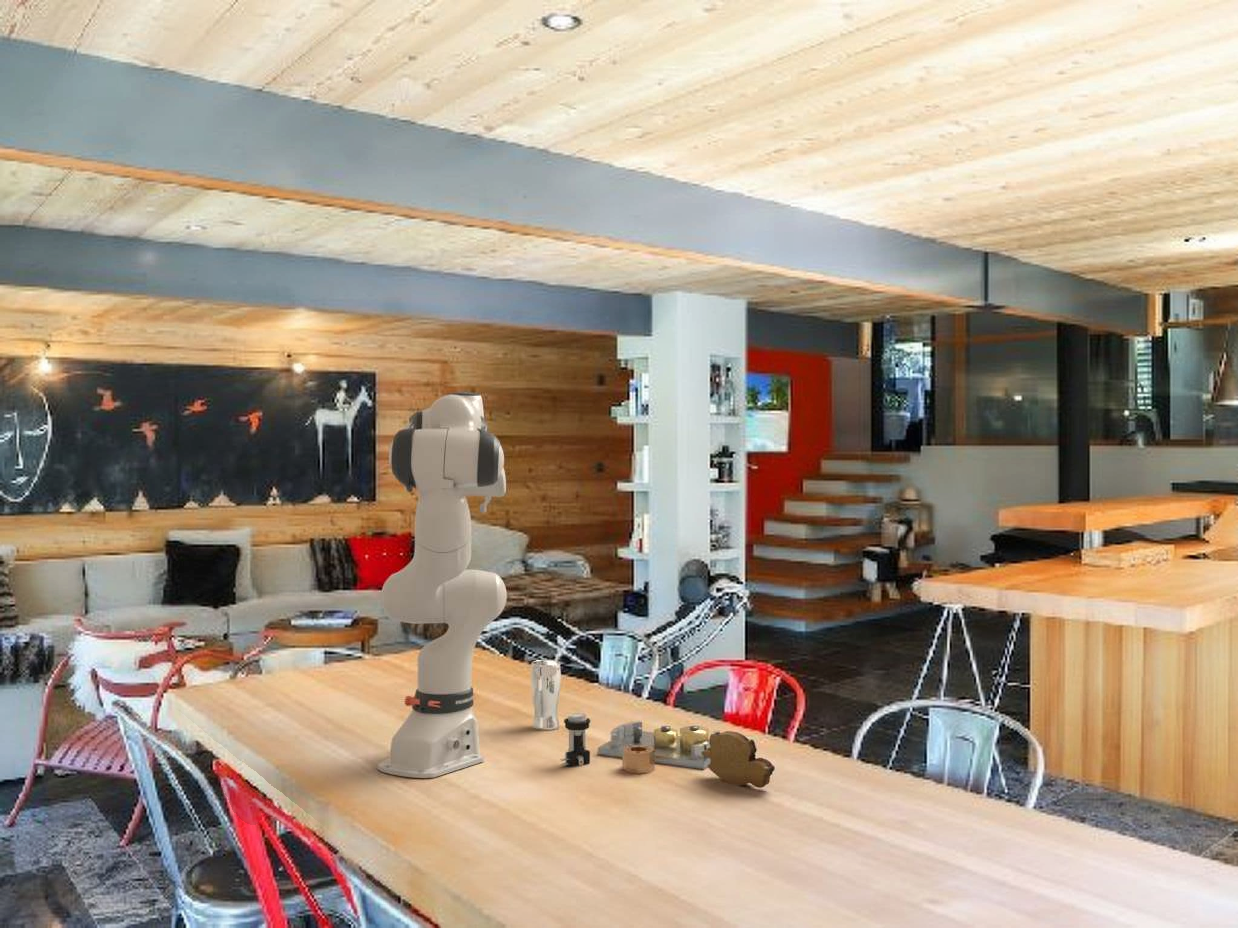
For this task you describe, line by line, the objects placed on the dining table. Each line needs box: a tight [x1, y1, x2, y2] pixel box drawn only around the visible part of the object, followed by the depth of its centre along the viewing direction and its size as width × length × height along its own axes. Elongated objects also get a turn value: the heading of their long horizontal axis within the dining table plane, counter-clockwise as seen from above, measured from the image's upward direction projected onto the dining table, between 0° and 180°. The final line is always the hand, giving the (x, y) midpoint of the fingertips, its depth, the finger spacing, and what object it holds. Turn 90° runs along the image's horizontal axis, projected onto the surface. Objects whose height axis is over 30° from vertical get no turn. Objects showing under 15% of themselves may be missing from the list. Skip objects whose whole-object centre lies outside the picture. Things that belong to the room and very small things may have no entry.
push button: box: [560, 712, 591, 768], centre depth 224 cm, size 7×5×10 cm
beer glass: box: [530, 659, 562, 731], centre depth 254 cm, size 7×7×15 cm
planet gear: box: [621, 745, 656, 775], centre depth 221 cm, size 6×6×4 cm
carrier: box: [597, 720, 721, 770], centre depth 234 cm, size 16×24×6 cm, turn 64°
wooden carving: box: [701, 730, 775, 789], centre depth 212 cm, size 16×5×10 cm, turn 49°
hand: (463, 510), depth 268 cm, fingers open, 8 cm apart
